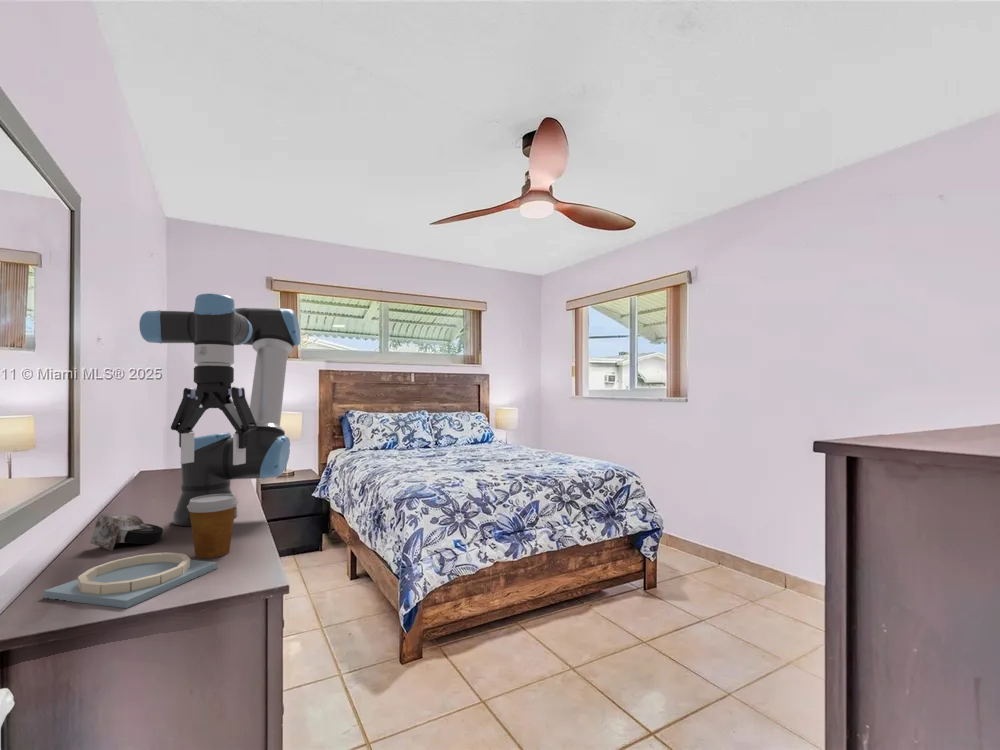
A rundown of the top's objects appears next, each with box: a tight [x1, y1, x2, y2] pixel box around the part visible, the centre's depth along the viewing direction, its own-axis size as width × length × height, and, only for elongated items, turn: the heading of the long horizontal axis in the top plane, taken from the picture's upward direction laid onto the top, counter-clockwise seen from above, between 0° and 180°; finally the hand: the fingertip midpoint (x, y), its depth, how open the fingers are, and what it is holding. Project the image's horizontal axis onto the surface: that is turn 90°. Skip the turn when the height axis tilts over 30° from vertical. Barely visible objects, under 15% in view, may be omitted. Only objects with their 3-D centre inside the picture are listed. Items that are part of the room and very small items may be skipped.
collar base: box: [42, 551, 218, 609], centre depth 89 cm, size 18×18×3 cm
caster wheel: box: [89, 513, 164, 551], centre depth 112 cm, size 7×11×10 cm
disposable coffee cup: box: [187, 493, 239, 559], centre depth 104 cm, size 10×10×12 cm
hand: (212, 463), depth 104 cm, fingers open, 13 cm apart
